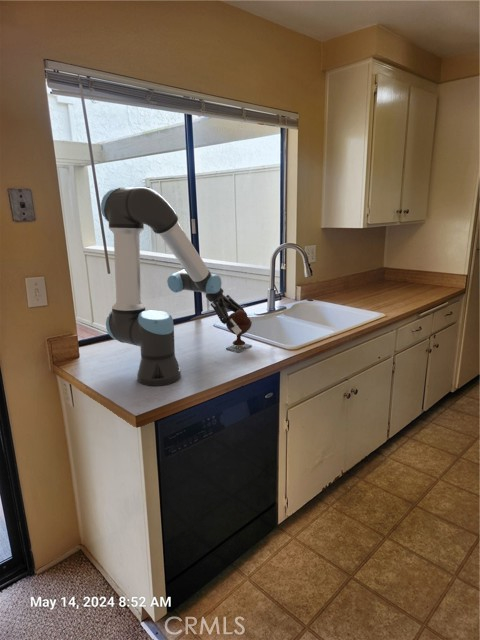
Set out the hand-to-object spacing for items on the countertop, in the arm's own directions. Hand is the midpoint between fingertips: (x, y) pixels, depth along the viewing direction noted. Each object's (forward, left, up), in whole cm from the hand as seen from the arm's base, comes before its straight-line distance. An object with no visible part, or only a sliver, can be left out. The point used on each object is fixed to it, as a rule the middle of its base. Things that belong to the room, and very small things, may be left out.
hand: (244, 329), depth 172 cm
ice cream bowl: (-1, +3, -7) cm, 7 cm away
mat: (-1, +3, -9) cm, 9 cm away
